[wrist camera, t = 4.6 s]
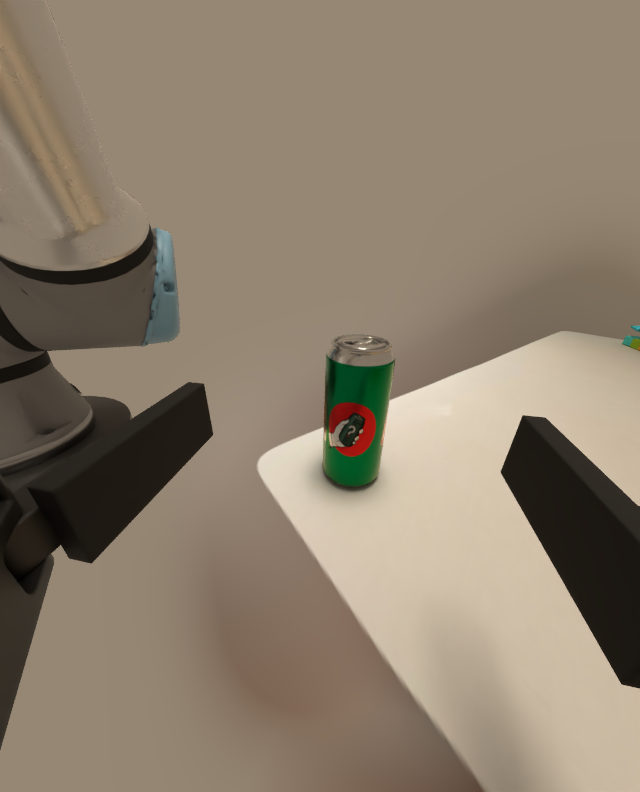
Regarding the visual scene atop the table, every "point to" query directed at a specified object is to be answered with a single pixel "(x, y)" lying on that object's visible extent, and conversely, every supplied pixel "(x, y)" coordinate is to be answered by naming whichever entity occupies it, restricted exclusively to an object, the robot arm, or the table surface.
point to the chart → (633, 339)
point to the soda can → (356, 407)
